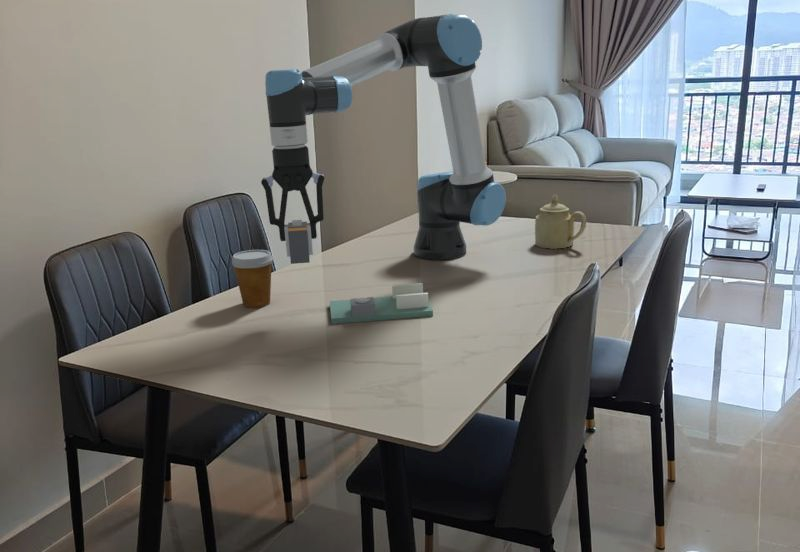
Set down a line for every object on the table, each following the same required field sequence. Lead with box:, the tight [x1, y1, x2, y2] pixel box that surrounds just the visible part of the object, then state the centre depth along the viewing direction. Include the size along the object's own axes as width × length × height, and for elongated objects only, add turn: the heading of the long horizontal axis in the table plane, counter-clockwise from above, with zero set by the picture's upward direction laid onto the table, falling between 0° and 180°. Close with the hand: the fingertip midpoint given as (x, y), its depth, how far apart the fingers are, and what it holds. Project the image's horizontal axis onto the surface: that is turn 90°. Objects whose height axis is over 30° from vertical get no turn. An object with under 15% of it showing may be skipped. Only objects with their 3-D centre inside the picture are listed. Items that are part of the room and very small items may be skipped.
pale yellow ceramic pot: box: [534, 194, 587, 250], centre depth 208 cm, size 15×11×15 cm
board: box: [329, 282, 434, 325], centre depth 159 cm, size 12×22×4 cm, turn 97°
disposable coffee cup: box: [231, 249, 274, 309], centre depth 166 cm, size 10×10×12 cm
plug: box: [288, 219, 311, 265], centre depth 155 cm, size 5×4×9 cm
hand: (300, 253), depth 156 cm, fingers closed on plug, 4 cm apart
